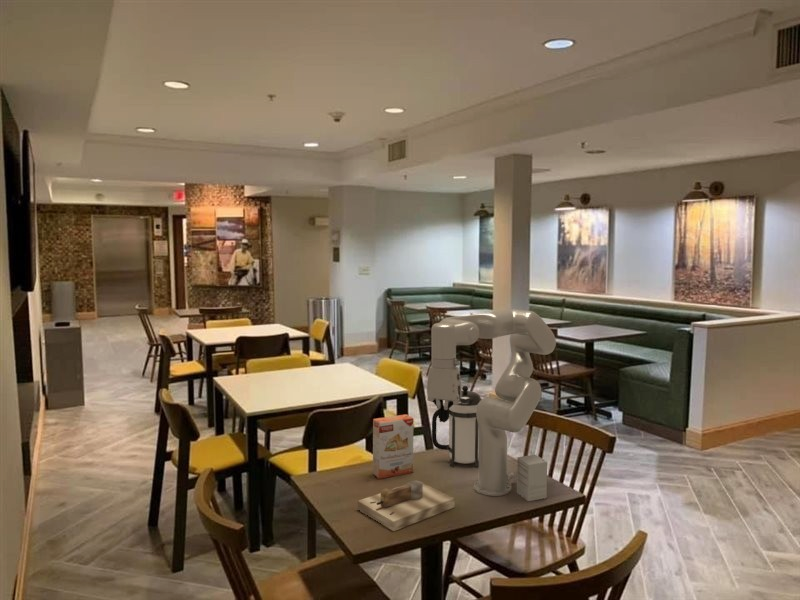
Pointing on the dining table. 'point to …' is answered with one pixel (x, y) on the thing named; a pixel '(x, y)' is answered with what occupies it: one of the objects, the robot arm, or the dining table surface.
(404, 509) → the dial board
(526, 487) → the supplement box
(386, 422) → the cracker box
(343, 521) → the dining table surface
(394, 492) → the lever
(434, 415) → the coffee press
